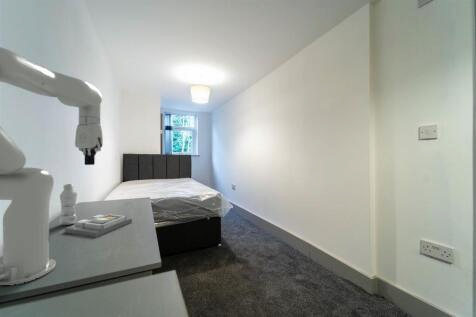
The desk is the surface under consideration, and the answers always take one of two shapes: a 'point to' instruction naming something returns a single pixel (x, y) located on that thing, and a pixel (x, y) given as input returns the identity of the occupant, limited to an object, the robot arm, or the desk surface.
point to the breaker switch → (105, 219)
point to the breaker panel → (97, 225)
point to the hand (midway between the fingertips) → (89, 164)
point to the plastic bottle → (68, 205)
